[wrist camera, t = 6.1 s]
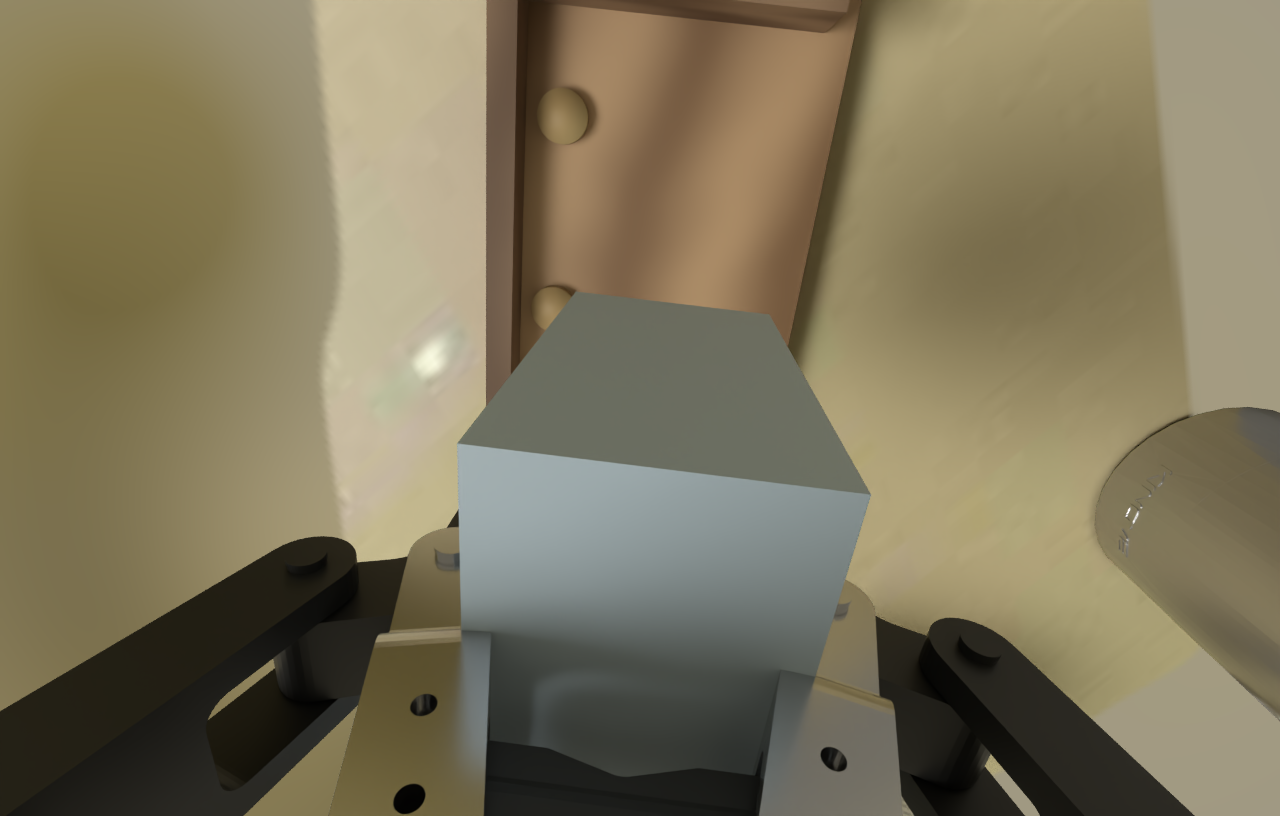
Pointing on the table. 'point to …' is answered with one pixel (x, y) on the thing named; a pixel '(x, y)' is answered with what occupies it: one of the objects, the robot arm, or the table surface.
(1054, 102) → the table surface
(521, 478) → the tall pale blue block
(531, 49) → the board
